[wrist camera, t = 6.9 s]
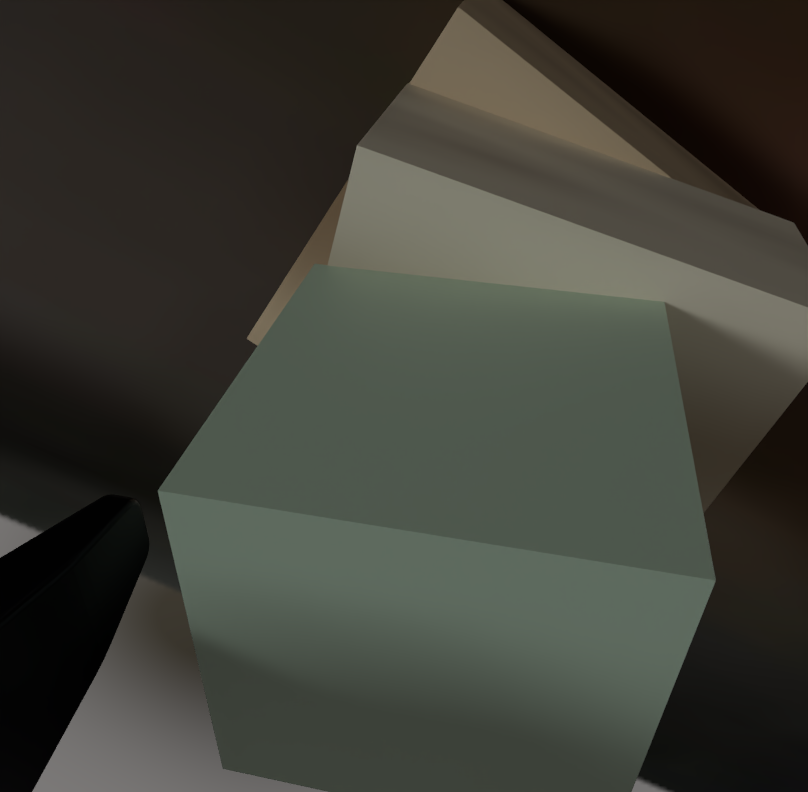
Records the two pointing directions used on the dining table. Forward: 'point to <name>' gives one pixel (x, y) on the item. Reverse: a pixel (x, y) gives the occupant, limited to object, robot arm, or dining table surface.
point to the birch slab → (591, 252)
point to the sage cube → (443, 539)
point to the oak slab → (521, 112)
